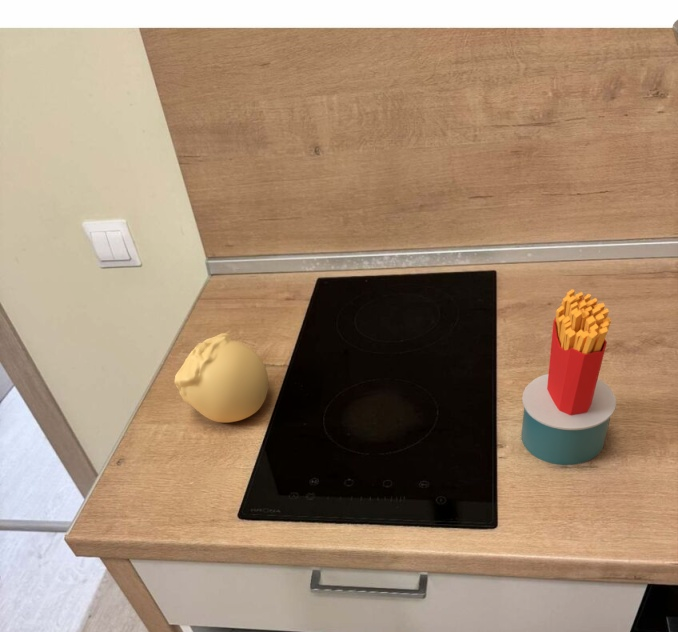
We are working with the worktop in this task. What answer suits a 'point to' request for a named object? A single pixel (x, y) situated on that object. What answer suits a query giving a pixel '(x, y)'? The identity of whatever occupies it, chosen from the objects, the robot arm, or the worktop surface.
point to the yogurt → (564, 425)
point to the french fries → (577, 352)
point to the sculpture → (223, 379)
